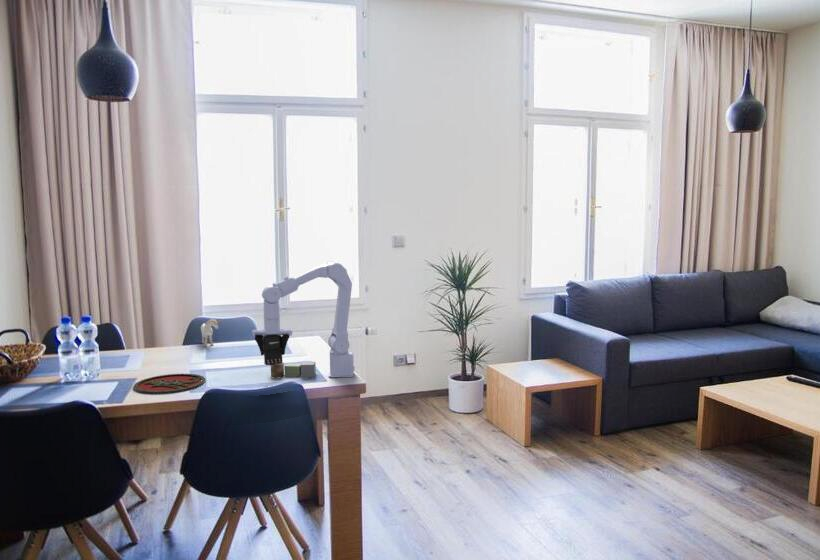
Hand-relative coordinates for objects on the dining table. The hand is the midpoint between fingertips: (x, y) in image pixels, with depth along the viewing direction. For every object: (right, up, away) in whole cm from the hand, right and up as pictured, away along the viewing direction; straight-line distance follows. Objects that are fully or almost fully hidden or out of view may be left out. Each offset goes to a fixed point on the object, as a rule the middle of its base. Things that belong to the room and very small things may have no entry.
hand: (273, 354), depth 231 cm
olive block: (+6, -9, +11) cm, 16 cm away
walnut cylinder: (0, -10, +9) cm, 13 cm away
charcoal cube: (+12, -9, +10) cm, 18 cm away
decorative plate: (-38, -12, -1) cm, 40 cm away
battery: (0, -4, 0) cm, 4 cm away
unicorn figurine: (-44, -4, +69) cm, 82 cm away
